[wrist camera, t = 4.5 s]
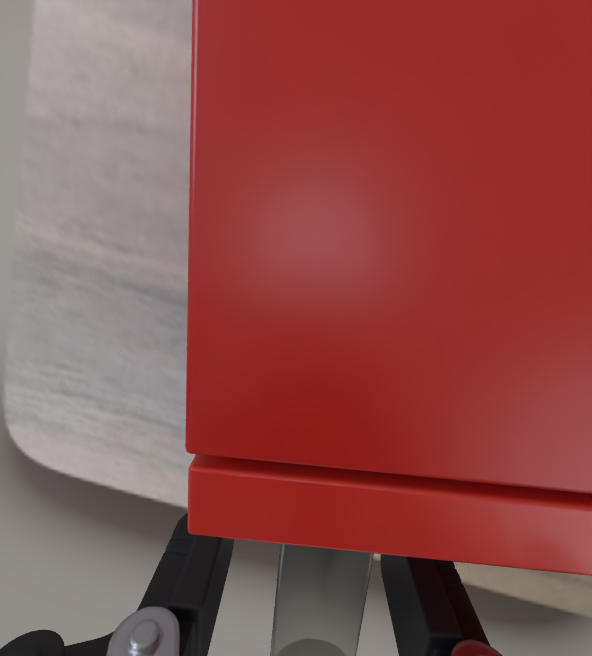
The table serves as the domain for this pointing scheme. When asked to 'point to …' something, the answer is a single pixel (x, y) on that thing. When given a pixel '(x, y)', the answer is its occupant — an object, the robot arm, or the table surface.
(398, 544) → the door
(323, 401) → the red cabinet
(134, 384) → the table surface
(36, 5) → the table surface
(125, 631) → the robot arm
